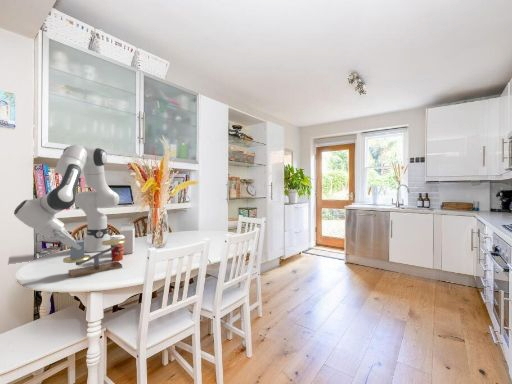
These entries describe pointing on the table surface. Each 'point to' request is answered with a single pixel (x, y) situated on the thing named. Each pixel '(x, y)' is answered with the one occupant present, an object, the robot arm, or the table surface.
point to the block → (77, 251)
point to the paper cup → (117, 249)
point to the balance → (95, 261)
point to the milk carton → (128, 237)
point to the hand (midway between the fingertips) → (78, 246)
